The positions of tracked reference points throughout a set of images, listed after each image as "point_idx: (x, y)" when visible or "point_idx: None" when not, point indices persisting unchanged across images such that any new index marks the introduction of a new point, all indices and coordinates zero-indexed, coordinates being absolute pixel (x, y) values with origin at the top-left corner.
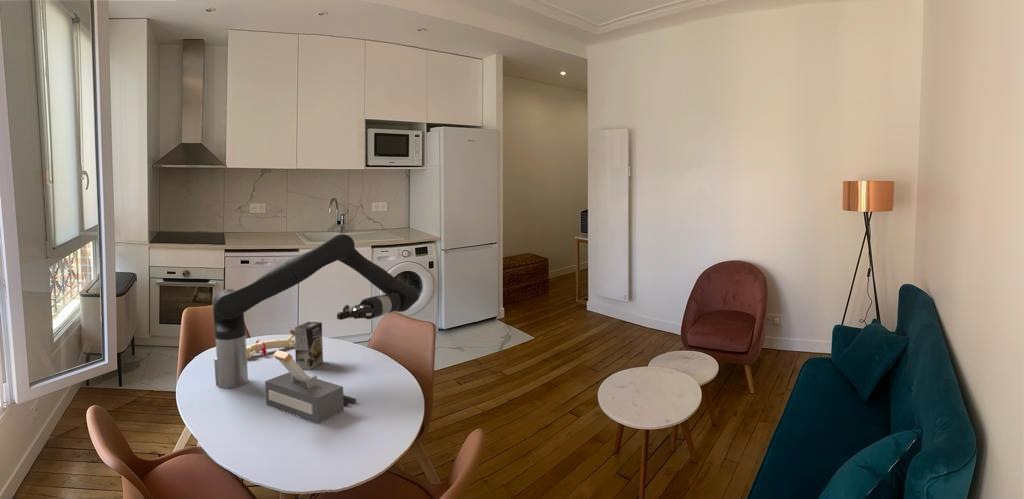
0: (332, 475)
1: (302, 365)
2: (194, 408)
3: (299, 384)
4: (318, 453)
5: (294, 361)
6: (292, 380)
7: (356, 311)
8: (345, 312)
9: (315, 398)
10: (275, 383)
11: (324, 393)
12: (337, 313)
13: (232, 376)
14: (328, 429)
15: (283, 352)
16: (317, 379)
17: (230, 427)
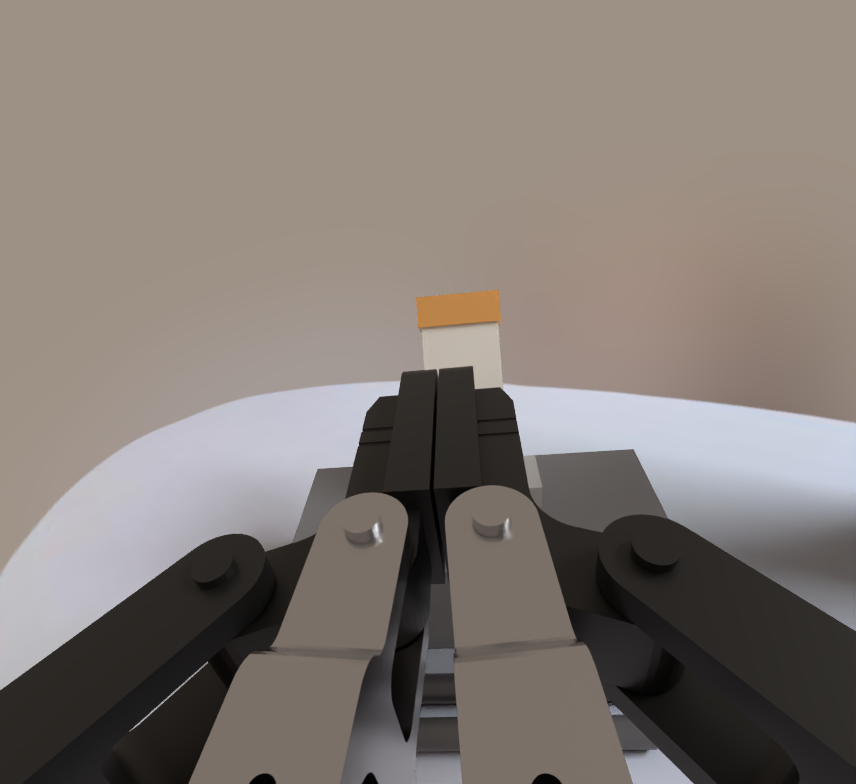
0: (165, 440)
1: None
2: (751, 417)
3: None
4: (238, 462)
5: (423, 353)
6: None
7: (184, 575)
8: (391, 435)
9: (326, 470)
10: (575, 458)
11: (316, 500)
12: (470, 367)
13: None
14: (281, 534)
15: (451, 295)
16: None
17: (540, 422)
